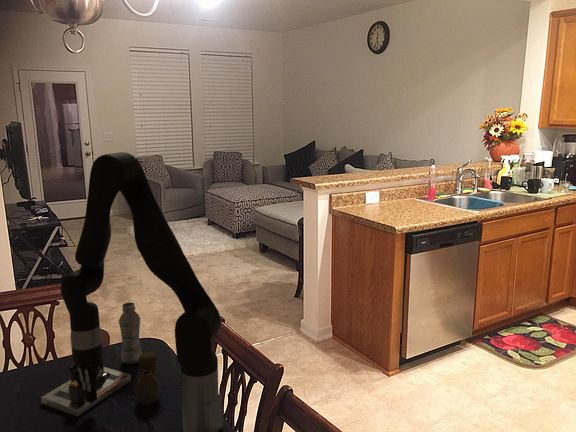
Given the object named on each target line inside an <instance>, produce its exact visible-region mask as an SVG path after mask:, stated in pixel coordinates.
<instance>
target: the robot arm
mask: <svg viewBox="0 0 576 432" xmlns="http://www.w3.org/2000/svg"><path fill="white" fill-rule="evenodd" d="M89 174H90V175H89V181H88V192H87V200H86V208H85V209H86V210H85V215H84V222H83V226H82V230H81V234H80V237H79V240H78V243H77V247H76V250H75V255H74V257H75V258H74V259H75V261H76V263H77V264H79V266H80V267H79V269H77V270H75V271H73V272H70V273H68V274H66V275H65V276H64V277H63V278H62V280H61V283H60V294H61V297H62V299H63V302H64V304H65V305H64V306H65V307H66V310H67V311H68V315H69V322H70V323H69V324H70V346H71V347H70V348H71V358H72V359H71V360H72V362H73V363H74V364H73V365H71V366H70V367H68V370H69V372H71V374H72V375H73V377H74V379H75V380H76V382H77V384H78V385H79V386H83V389H84V390H85V398H86V402H88V403H93V402H94V401H96V399H97V389H99V388H100V387H102V386H103V384H104V383H105V381H106V380H107V379H108V377H109V376H110V374H109V373H108V372H107V373H105V372H104V371H103V370H102V364H101V358H103V356H104V352H103V350H104V349H103V340H102V329H101V325H100V312H99V307H98V305H97V304H96V303H95V302H93V301H92V302H91V301H88V299H87V297H88V296H89V295H91V294H92V293H95V292H96V291H97V290H99V289H100V287H102V286H101V285H102V284H103V281H104V277H105V276H104V274H105V258H106V256H107V253H108V249H109V246H110V242H111V238H112V227H111V226H112V225H111V219H110V218H111V210H112V207H113V204H114V201H115V199H116V196H118V193H119V192H120V193H121V195H122V196H123V197H124V200H125V202H126V203H127V206H128V207H129V210H130V212H131V215H132V223H133V225H132V226H133V235H134V242H135V245H136V248H137V250H138V251H139V254H140V255H141V257H142V259H143V261H144V263H145V265H146V266H147V268H148V269H149V271H150V272H151V273H152V274H153V275H154V276H155V277H156V278H158V279H159V280H161V282H163V283H164V284H165V285H167V286H168V287H169V289H171V290H172V291H173V293H174V294H175V296H176V297H177V300H179V303H180V304H181V306H182V308H183V311H184V312H183V313H182V314H181V315H180V316H179V317H178V318H177V320H176V322H175V326H174V340H175V342H174V343H175V349H176V351H175V352H176V353H175V354H176V358H177V361H178V363H179V365H180V387H181V407H182V408H181V409H182V412H181V413H182V431H183V432H220V430H221V429H222V428H223V427H224V425H223V423H224V422H223V417H224V416H223V395H222V393H221V392H219V362H218V361H219V359H218V355H217V354H216V353H215V352H214V351H213V350H212V338H213V337H214V336H215V335H216V333H217V332H218V331H219V329H220V327H221V322H222V320H221V315H220V312H219V310H218V307H217V306H216V305H215V303H214V301H213V300H212V299H211V297H210V296H209V294H208V293H207V292H206V290H205V288H204V287H203V286H202V284H201V282H200V281H199V279H198V277H197V276H196V274H195V272H194V271H195V270H193V267H192V266H191V264H190V261H188V259H187V257H186V255H185V253H184V250H183V249H182V247H181V245H180V243H179V241H178V239H177V237H176V235H175V233H174V232H173V230H172V228H171V227H170V225H169V223H168V221H167V220H166V218H165V215H164V214H163V211H162V209H161V207H160V205H159V204H158V202H157V200H156V198H155V196H154V194H153V191H152V188H151V186H150V184H149V181H148V179H147V177H146V176H147V175H146V173H145V171H144V168H143V167H142V165H141V163H140V161H139V160H138V158H136V157H135V156H134V155H133V154H131V153H129V152H125V151H124V152H123V151H121V152H114V153H113V152H112V153H106V154H102V155H99V156H98V157H97V158H95V160H94V161H93V163H92V166H91V168H90V173H89ZM79 376H80V378H79Z"/></svg>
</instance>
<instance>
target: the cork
mask: <svg viewBox="0 0 576 432" xmlns="http://www.w3.org/2000/svg"><path fill="white" fill-rule="evenodd" d="M157 361H158V357H157V355H156V353H154V352H152V351H147V352H144V353H143V352H142V355H140V357H139V362H138V365H139V366H140V374H139V378H140V377H141V375H142V373H143V372H144V371H151V372H152V374H153V375H154V376H155V377H156V378H157V379H158V380H159V375H158V371H157V366H156V364H157Z"/></svg>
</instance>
